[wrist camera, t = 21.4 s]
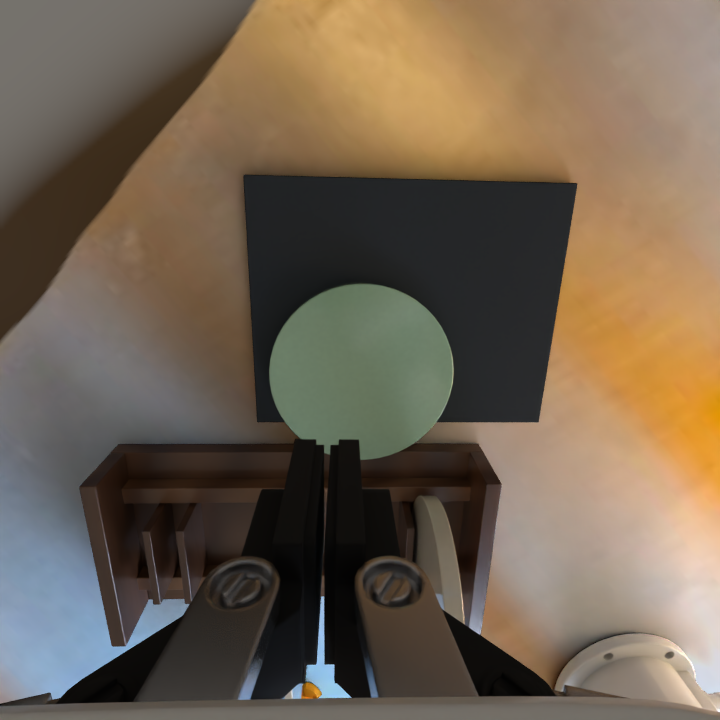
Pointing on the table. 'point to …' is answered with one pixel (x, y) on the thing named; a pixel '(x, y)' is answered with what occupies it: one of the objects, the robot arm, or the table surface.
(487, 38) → the table surface
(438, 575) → the cream plate
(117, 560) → the plate rack
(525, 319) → the mat
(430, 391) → the green plate
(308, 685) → the toy figure
